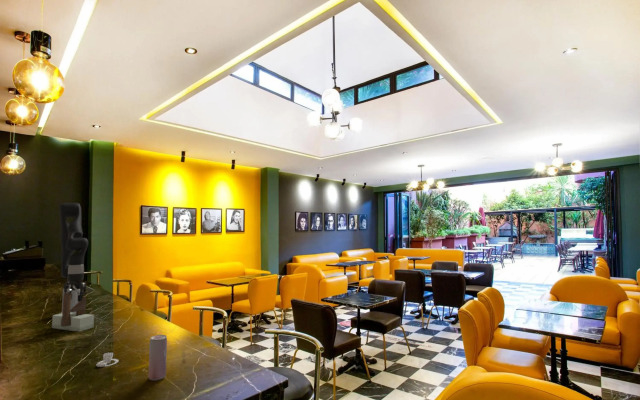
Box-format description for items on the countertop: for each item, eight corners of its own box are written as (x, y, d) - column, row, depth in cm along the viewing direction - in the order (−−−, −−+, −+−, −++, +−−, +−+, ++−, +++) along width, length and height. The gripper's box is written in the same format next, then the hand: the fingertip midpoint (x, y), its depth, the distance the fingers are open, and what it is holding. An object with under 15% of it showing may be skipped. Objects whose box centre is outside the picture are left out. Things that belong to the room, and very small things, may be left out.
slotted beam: (66, 324, 198) (67, 311, 198) (93, 327, 191) (94, 314, 191) (52, 327, 190) (52, 315, 191) (79, 331, 183) (80, 318, 184)
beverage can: (152, 374, 129) (153, 334, 131) (168, 373, 130) (169, 334, 131) (145, 381, 124) (147, 340, 125) (162, 380, 124) (163, 339, 125)
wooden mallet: (85, 322, 194) (86, 291, 195) (62, 326, 185) (64, 294, 187) (82, 321, 196) (84, 290, 198) (60, 325, 188) (62, 293, 189)
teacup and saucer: (99, 370, 135) (99, 359, 135) (90, 365, 139) (90, 355, 139) (122, 362, 142) (122, 352, 142) (112, 358, 146) (113, 349, 147)
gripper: (91, 272, 194) (89, 300, 193) (73, 271, 199) (72, 298, 198) (78, 274, 187) (76, 303, 186) (60, 272, 192) (59, 301, 190)
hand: (74, 300), depth 192 cm, fingers open, 8 cm apart
